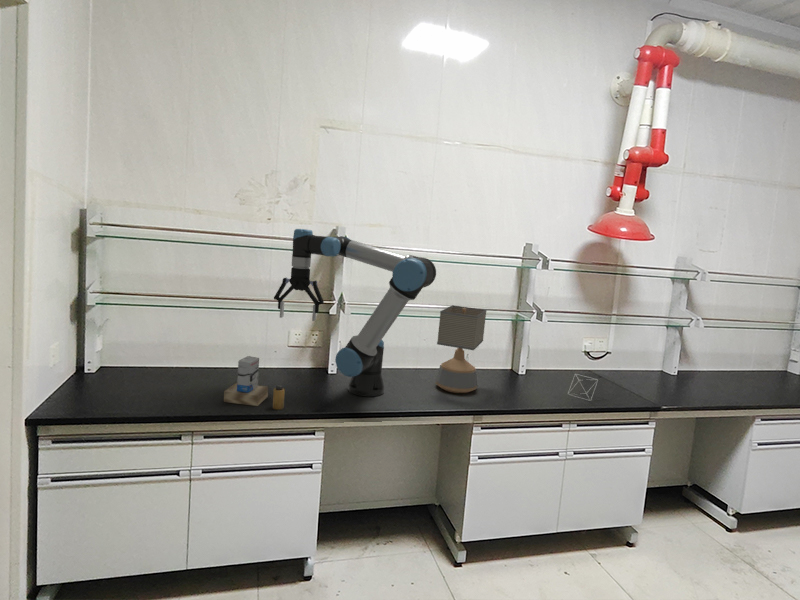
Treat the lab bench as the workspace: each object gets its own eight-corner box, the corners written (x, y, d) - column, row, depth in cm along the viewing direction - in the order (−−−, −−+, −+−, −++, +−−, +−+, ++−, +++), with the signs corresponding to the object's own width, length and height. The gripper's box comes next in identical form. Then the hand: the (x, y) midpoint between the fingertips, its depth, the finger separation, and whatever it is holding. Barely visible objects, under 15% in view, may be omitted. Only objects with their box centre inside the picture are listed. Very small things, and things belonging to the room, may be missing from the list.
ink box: (248, 393, 200) (250, 362, 198) (236, 391, 200) (237, 360, 199) (258, 386, 208) (259, 357, 206) (246, 384, 209) (247, 355, 207)
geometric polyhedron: (575, 390, 256) (577, 372, 255) (598, 396, 249) (600, 378, 248) (564, 396, 246) (567, 376, 245) (588, 402, 240) (591, 382, 238)
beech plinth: (267, 396, 210) (268, 386, 209) (257, 405, 199) (258, 395, 198) (235, 392, 211) (235, 382, 210) (223, 401, 200) (224, 391, 199)
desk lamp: (471, 399, 229) (481, 314, 223) (428, 391, 235) (437, 308, 229) (481, 386, 249) (490, 308, 244) (441, 378, 255) (449, 302, 250)
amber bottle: (285, 406, 201) (286, 385, 200) (281, 410, 197) (282, 388, 196) (274, 405, 201) (275, 384, 200) (271, 408, 197) (272, 387, 196)
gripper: (333, 269, 220) (329, 320, 223) (273, 263, 222) (271, 314, 225) (329, 271, 213) (325, 323, 216) (267, 265, 215) (265, 317, 218)
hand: (297, 319), depth 221 cm, fingers open, 13 cm apart
